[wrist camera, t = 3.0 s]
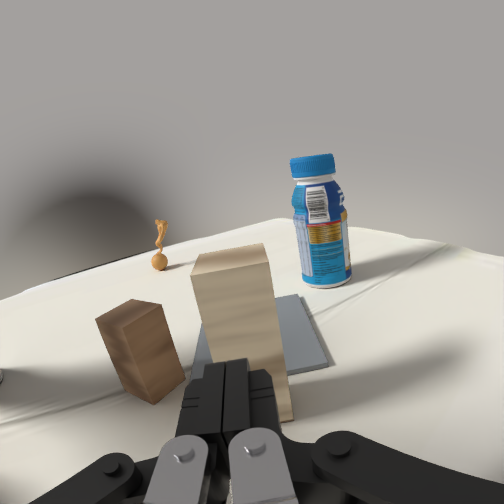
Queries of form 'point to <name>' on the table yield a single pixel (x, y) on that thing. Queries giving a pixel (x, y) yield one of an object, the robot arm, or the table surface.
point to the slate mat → (292, 335)
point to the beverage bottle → (320, 222)
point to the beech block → (242, 314)
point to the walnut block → (141, 349)
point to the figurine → (160, 259)
